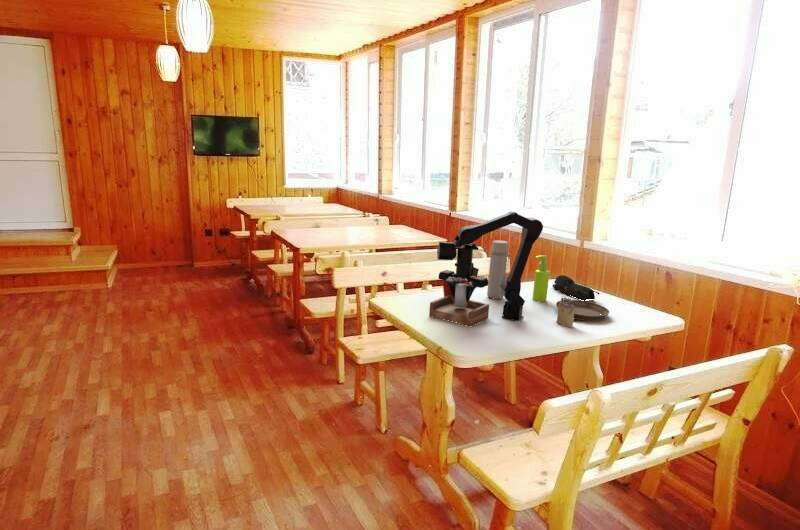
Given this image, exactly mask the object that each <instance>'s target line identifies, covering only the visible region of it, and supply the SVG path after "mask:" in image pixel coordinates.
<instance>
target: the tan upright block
mask: <svg viewBox="0 0 800 530" xmlns="http://www.w3.org/2000/svg"><path fill="white" fill-rule="evenodd" d="M563 300H564V302H563ZM572 300H573V299H572V298H567V297H561V299H560V301H561V302H559V307H558V308H557V316H556V317H557V318H556V323H557V324H559V325H561V326H564V327H567V328H572V327H573V324H574V320H575V319H574V311H575V309H574V308H575V306H574V305H572V304H570V303H573V301H572ZM566 301H567V302H568V303H567V302H566Z"/></svg>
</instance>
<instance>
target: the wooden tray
mask: <svg viewBox="0 0 800 530" xmlns="http://www.w3.org/2000/svg"><path fill="white" fill-rule="evenodd" d="M454 300H455V299H454V297H453V296H451V295H448V296H445V297H444V296H443V297H440V298H437V299H435V300H433V301H430V302H429V314H428V316H429V317H431V316H433V317H432V318H435V317H437V318H436V319H439V318H440V319H439V320H442V319H445V320H444V321H446V320H449V321H448V322H450V321H453V322H452V323H454V322H457V323H456V324H458V323H460V324H459V325H461V324H463V325H462V326H465V325H467V326H466V327H469V326H470V328H471V326H472V327H474V326H475V324H476V325H478V324H479V322H480V323H481V321H482V322H483V321H485V320H488V319H489V313H490V312H489V311H490V304H489V303H484V302H481V301H475V300H471V299H470V300H469V302H468V306H467V307H456V306H454ZM473 325H474V326H473Z"/></svg>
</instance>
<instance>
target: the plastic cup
mask: <svg viewBox="0 0 800 530" xmlns="http://www.w3.org/2000/svg"><path fill="white" fill-rule="evenodd" d="M446 280H447V279H446ZM446 280H442V286H443V287H442V288H443V289H442V290H443V297H445V296H448V295H451V296H453V295H452V292H451V290H450V288H449V286H448V284H447V283H446V282H445V281H446ZM458 284H466V282H465V281H461V280H459V282H458Z"/></svg>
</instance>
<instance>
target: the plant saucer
mask: <svg viewBox="0 0 800 530" xmlns="http://www.w3.org/2000/svg"><path fill="white" fill-rule="evenodd" d="M571 300H572V301H573V303H570V304H572V305H574V306H575V308H574V309H575V311H574V319H573V320H579V321H587V322H592V321H593V322H595V321H596V320H597V321H601V320H603V319H605V318H606V317H607V316H608V315H609V314H610V310H609V309H608V308H606V307H605V306H603V305H601V304H598V303H594V302H592V301H581V300H578V299H571ZM559 302H561V300H559V301H556V303H555V306H556V309H558V307H559ZM563 302H564V300H563ZM566 302H567V301H566ZM567 303H568V302H567ZM600 314H601V315H600Z"/></svg>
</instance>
